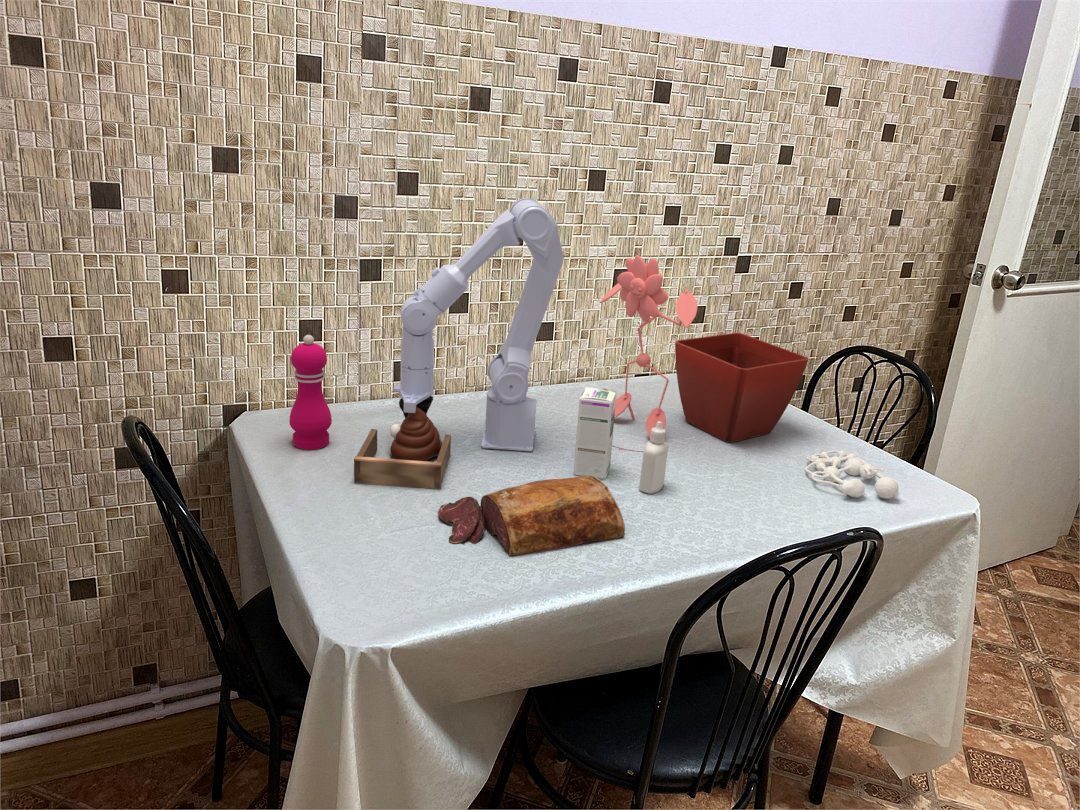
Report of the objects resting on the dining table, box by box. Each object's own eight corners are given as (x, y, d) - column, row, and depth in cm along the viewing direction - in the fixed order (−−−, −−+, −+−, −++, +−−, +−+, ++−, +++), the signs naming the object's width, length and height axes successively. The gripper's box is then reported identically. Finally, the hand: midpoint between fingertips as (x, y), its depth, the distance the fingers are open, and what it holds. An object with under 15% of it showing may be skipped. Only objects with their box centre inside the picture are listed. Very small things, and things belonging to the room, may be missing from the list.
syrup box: (605, 480, 145) (614, 401, 140) (572, 475, 146) (579, 396, 141) (610, 467, 150) (618, 390, 145) (577, 462, 151) (584, 385, 146)
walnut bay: (450, 455, 150) (451, 433, 148) (440, 489, 137) (441, 465, 135) (371, 449, 150) (371, 427, 148) (354, 482, 137) (353, 458, 135)
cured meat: (424, 511, 130) (425, 472, 127) (565, 487, 141) (569, 451, 139) (470, 573, 115) (472, 530, 113) (623, 541, 127) (629, 501, 124)
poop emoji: (416, 470, 143) (417, 419, 140) (378, 456, 147) (378, 406, 144) (452, 452, 151) (454, 403, 148) (415, 439, 155) (416, 392, 152)
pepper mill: (281, 445, 149) (277, 336, 142) (306, 432, 155) (304, 326, 148) (315, 454, 146) (313, 343, 139) (340, 440, 152) (338, 333, 145)
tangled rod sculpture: (786, 461, 162) (788, 441, 161) (860, 459, 162) (863, 439, 161) (822, 505, 144) (824, 483, 142) (906, 502, 144) (909, 480, 143)
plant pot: (796, 437, 170) (811, 357, 164) (729, 453, 160) (743, 368, 154) (727, 406, 185) (739, 331, 179) (662, 419, 174) (672, 340, 168)
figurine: (610, 405, 180) (625, 240, 167) (698, 449, 161) (722, 267, 148) (552, 418, 171) (563, 245, 158) (638, 466, 152) (659, 274, 139)
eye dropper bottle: (672, 490, 143) (681, 424, 139) (645, 495, 140) (653, 429, 136) (656, 479, 146) (665, 415, 142) (630, 485, 144) (637, 419, 139)
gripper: (401, 351, 156) (400, 419, 161) (386, 376, 142) (385, 450, 147) (439, 354, 156) (437, 422, 161) (428, 379, 142) (426, 453, 147)
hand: (415, 435), depth 154 cm, fingers closed
